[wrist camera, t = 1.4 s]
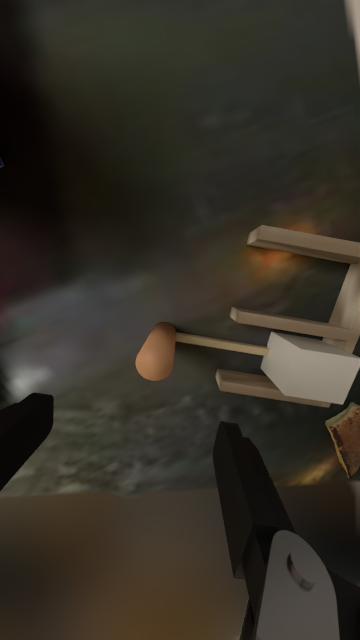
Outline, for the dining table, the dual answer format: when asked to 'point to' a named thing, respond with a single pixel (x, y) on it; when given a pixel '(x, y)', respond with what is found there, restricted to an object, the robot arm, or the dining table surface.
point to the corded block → (265, 362)
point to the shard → (347, 437)
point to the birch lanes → (342, 330)
